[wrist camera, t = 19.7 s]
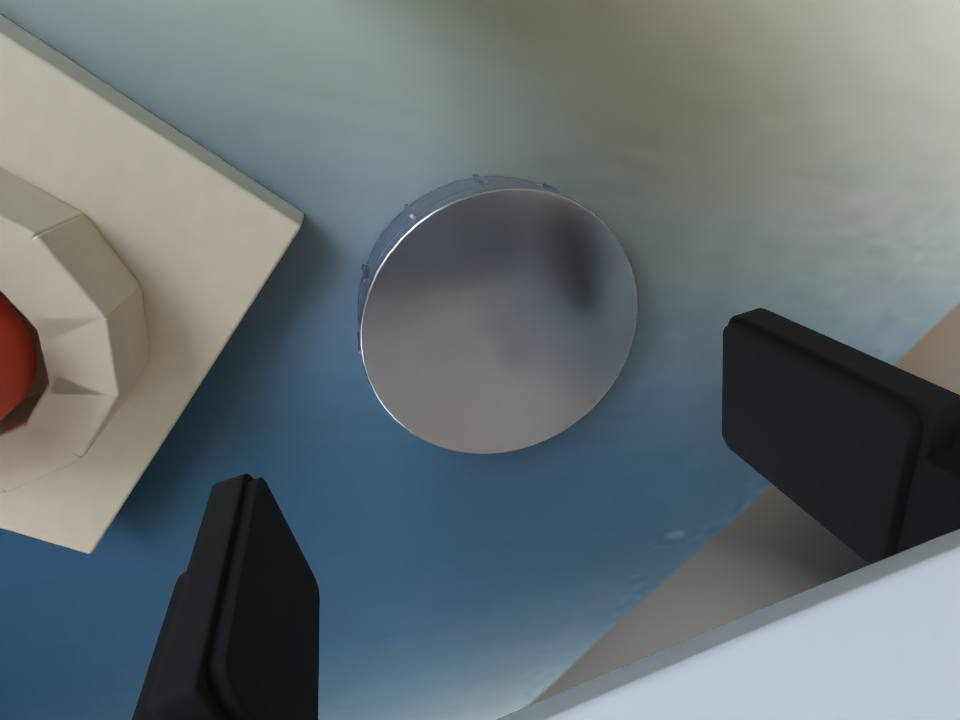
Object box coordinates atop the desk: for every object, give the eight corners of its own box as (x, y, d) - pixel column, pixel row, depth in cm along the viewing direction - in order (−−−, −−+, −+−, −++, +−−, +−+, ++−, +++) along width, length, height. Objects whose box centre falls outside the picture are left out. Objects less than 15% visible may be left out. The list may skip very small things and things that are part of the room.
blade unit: (307, 245, 14) (301, 267, 12) (568, 129, 14) (602, 133, 12) (422, 452, 17) (431, 494, 16) (628, 357, 18) (662, 387, 16)
